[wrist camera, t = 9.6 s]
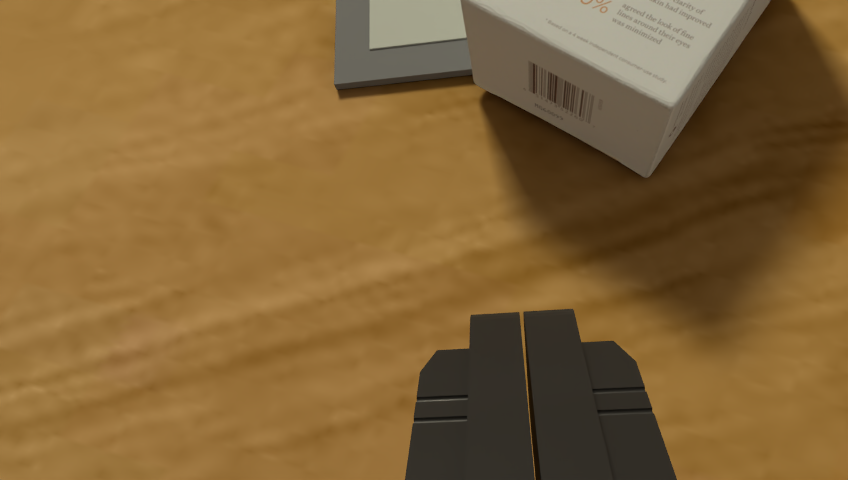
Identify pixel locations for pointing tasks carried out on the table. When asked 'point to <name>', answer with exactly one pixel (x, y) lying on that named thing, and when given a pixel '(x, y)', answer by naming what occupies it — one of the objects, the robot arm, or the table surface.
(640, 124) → the small box
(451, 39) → the e-reader
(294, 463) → the table surface
